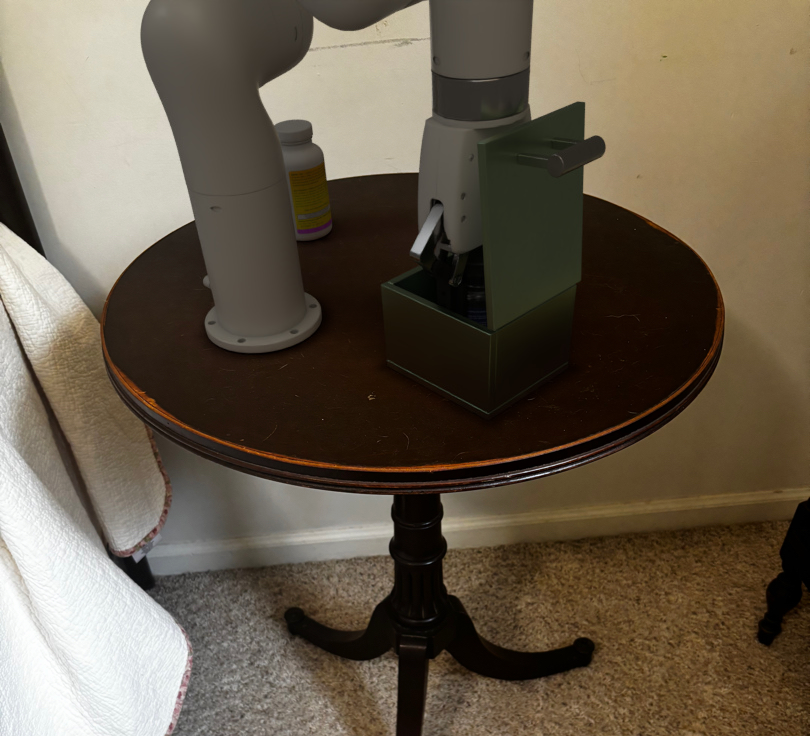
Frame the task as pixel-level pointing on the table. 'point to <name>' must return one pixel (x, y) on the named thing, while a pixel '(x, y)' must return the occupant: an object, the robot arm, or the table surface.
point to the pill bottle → (475, 286)
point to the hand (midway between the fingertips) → (477, 304)
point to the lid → (533, 210)
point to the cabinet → (473, 345)
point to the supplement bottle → (305, 180)
